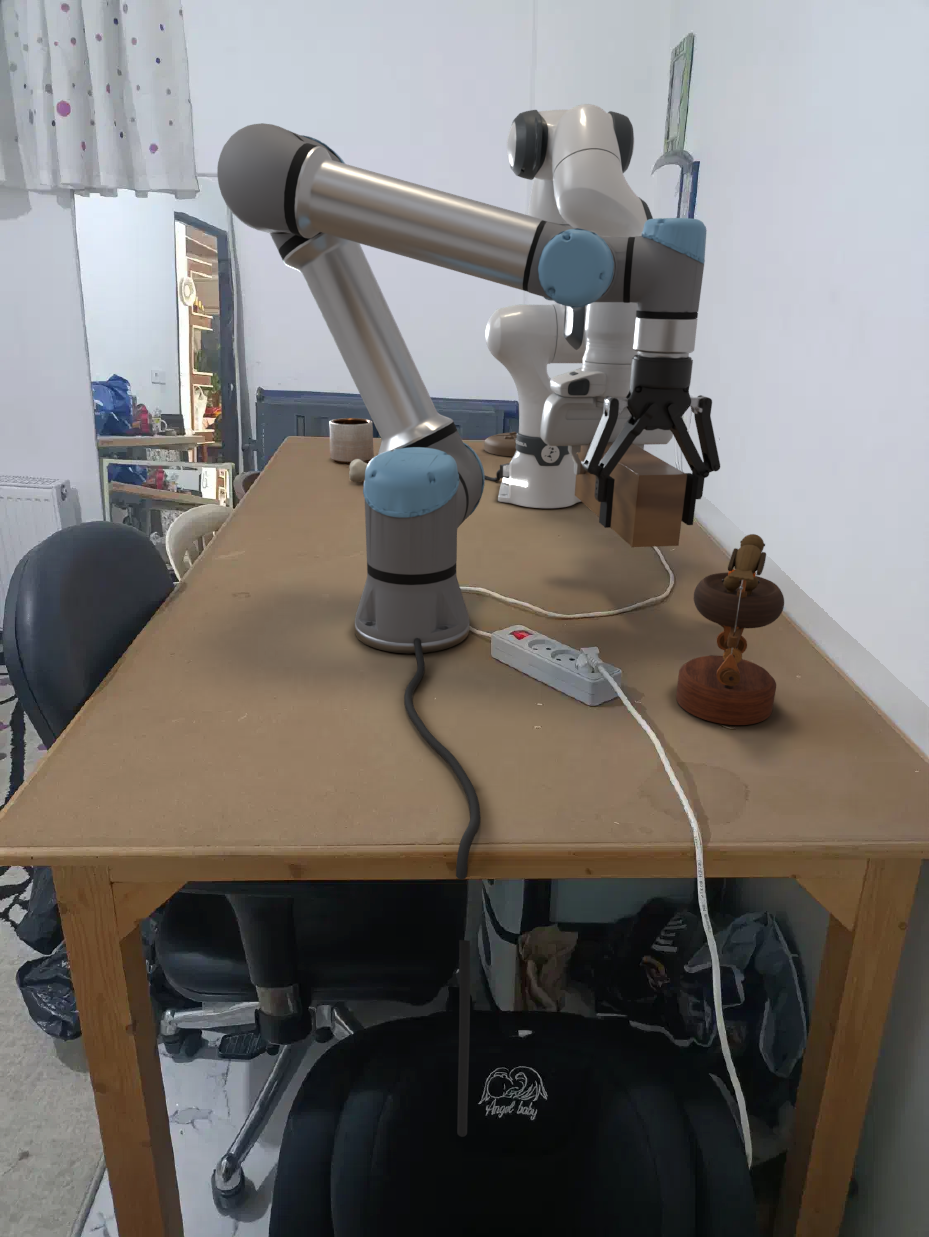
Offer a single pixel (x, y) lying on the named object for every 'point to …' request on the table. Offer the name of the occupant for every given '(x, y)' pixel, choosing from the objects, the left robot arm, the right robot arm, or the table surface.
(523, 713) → the table surface
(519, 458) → the right robot arm
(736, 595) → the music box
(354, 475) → the dog toy
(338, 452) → the planter
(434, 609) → the left robot arm
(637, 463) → the box
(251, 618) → the table surface
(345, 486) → the table surface
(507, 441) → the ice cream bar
